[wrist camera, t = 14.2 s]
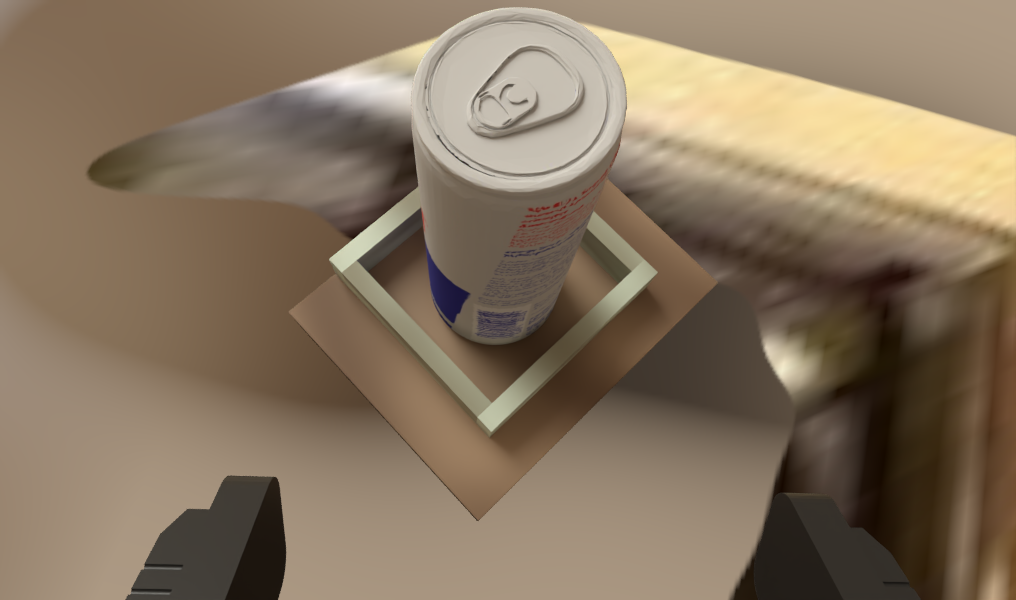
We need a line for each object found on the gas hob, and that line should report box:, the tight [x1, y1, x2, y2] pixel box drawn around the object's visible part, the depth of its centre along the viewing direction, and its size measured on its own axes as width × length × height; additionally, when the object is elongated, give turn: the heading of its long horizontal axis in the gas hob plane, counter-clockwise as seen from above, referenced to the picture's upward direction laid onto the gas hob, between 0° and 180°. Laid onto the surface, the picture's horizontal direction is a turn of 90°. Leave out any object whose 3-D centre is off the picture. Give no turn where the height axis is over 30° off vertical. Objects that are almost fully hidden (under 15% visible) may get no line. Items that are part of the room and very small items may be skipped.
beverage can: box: [411, 8, 627, 345], centre depth 25 cm, size 6×6×15 cm
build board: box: [289, 179, 718, 521], centre depth 32 cm, size 15×12×4 cm
